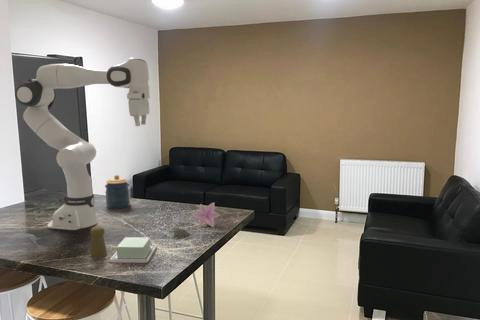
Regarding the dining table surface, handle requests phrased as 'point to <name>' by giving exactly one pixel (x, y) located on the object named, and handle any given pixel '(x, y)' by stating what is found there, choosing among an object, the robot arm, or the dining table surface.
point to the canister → (117, 193)
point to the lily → (206, 214)
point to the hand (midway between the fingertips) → (140, 125)
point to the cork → (98, 242)
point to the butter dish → (134, 250)
